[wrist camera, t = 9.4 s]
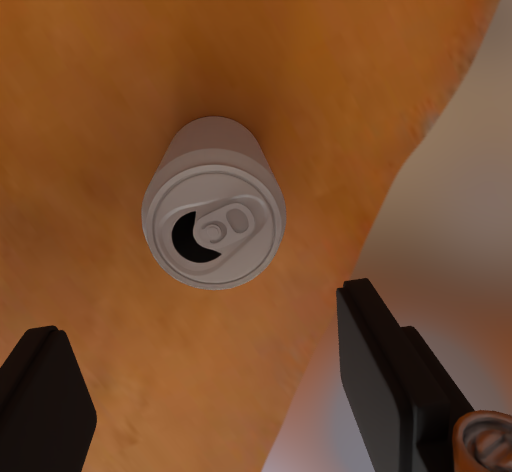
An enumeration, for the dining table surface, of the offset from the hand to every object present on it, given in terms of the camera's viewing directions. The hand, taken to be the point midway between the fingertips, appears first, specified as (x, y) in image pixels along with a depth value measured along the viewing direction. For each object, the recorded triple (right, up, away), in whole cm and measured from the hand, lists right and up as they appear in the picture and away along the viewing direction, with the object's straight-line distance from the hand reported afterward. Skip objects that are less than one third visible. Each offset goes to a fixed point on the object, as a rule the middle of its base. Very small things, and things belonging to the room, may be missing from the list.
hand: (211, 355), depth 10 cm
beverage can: (-2, +8, +18) cm, 20 cm away
